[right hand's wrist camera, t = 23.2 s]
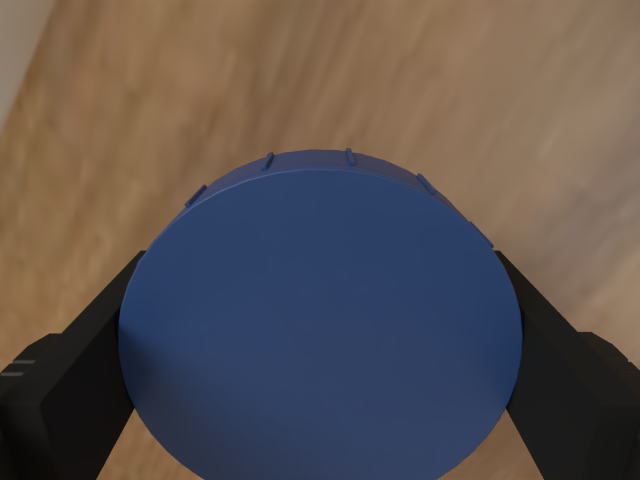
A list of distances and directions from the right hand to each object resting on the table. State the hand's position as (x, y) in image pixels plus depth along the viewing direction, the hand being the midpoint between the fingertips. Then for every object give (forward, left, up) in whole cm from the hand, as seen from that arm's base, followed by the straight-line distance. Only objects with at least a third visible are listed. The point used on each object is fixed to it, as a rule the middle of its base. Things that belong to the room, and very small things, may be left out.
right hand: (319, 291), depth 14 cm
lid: (0, 0, +3) cm, 3 cm away
